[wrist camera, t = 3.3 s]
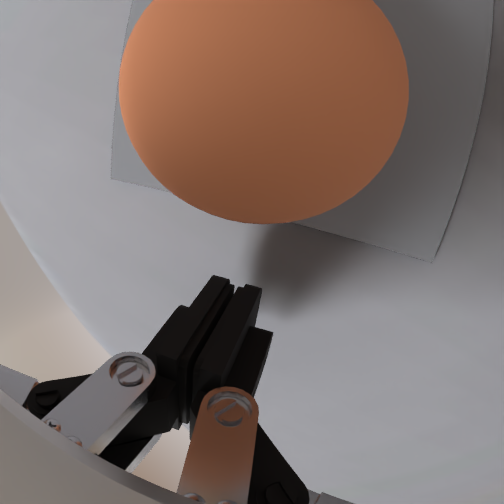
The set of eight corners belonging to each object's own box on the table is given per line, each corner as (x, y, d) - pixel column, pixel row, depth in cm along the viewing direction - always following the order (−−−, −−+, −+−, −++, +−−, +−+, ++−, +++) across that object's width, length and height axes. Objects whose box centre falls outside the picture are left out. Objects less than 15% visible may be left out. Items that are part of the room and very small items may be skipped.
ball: (400, 28, 7) (468, -58, 2) (358, 208, 10) (375, 326, 4) (210, -2, 8) (89, -73, 3) (183, 165, 11) (52, 227, 5)
